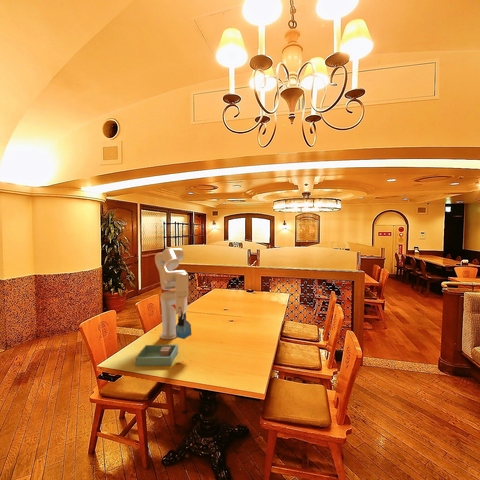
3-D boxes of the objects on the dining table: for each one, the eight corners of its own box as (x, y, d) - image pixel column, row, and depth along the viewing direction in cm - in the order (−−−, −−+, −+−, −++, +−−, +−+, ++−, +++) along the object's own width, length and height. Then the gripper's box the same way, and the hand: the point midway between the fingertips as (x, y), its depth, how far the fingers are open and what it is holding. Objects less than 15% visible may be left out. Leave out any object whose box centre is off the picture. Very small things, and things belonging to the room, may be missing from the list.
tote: (145, 352, 154) (145, 345, 154) (177, 351, 154) (177, 344, 154) (135, 365, 139) (135, 357, 139) (171, 365, 139) (170, 357, 139)
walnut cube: (162, 355, 149) (162, 346, 149) (171, 355, 149) (170, 346, 149) (159, 359, 144) (159, 350, 144) (168, 359, 144) (168, 350, 144)
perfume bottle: (176, 336, 149) (174, 317, 148) (183, 332, 154) (182, 313, 153) (183, 339, 146) (182, 318, 145) (191, 334, 151) (190, 315, 150)
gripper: (179, 289, 157) (179, 318, 158) (171, 297, 140) (172, 329, 141) (191, 289, 157) (191, 318, 158) (185, 297, 140) (185, 329, 141)
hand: (182, 323), depth 149 cm, fingers closed on perfume bottle, 5 cm apart
